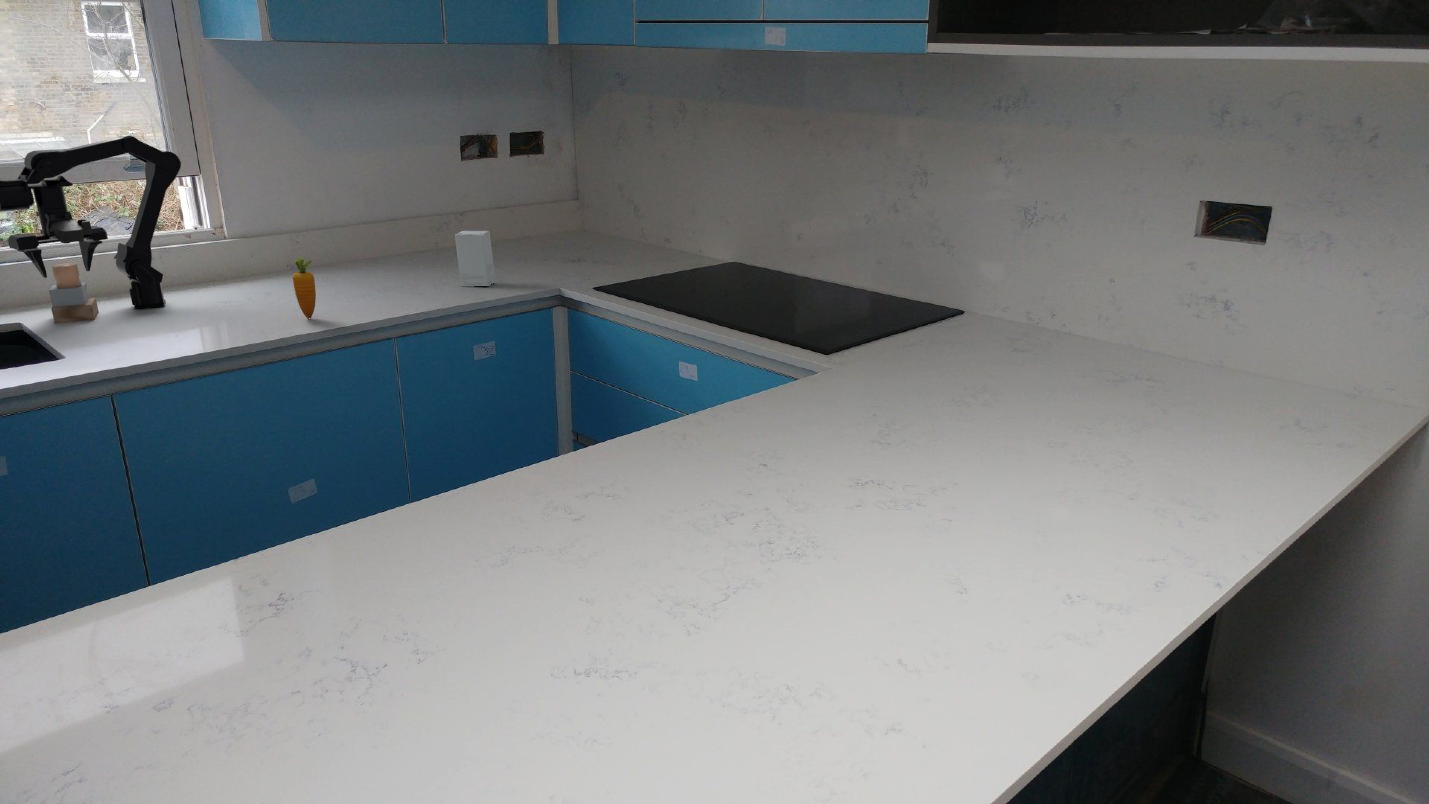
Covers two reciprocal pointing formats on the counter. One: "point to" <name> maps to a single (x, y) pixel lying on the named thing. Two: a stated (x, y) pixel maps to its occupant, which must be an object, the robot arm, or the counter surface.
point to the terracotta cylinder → (66, 275)
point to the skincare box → (475, 258)
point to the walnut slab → (76, 312)
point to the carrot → (305, 288)
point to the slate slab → (69, 296)
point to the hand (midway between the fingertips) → (67, 274)
